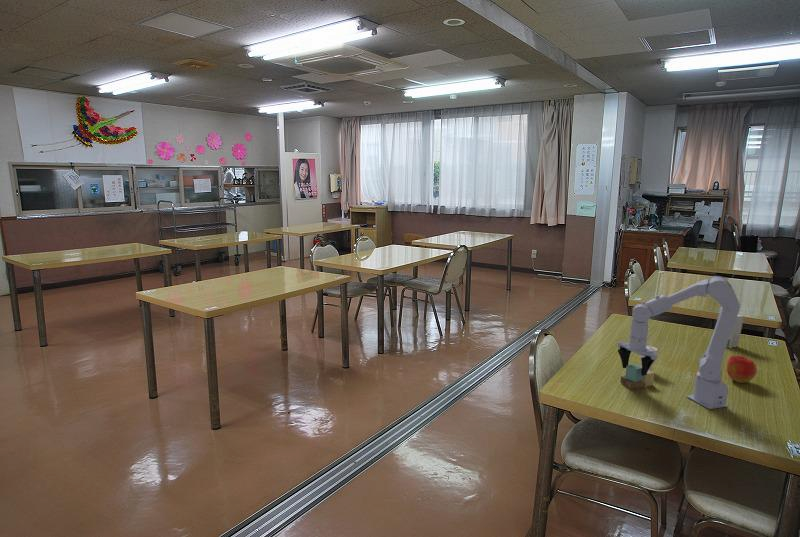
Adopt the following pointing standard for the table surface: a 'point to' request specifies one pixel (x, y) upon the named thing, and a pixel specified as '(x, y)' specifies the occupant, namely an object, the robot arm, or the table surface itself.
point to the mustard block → (648, 378)
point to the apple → (741, 369)
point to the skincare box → (735, 332)
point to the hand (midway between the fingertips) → (634, 371)
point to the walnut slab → (632, 384)
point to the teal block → (633, 373)
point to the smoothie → (652, 351)
